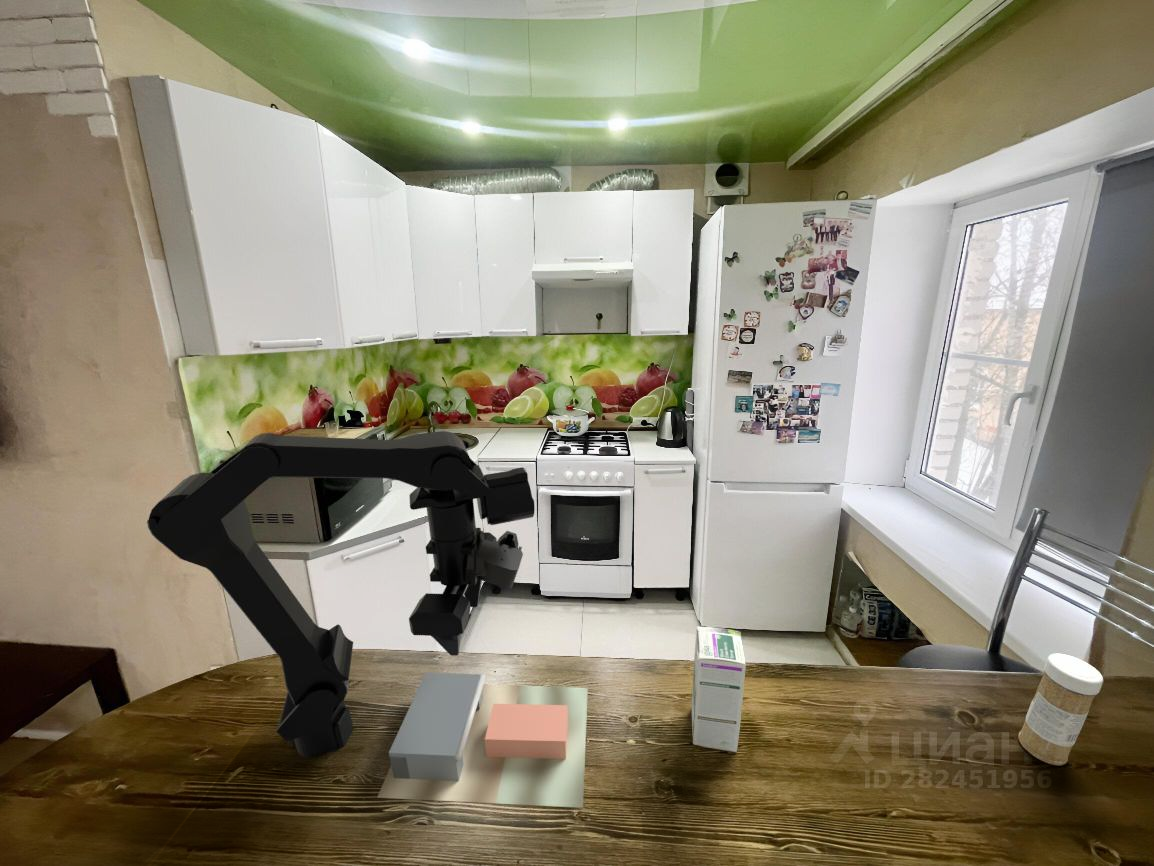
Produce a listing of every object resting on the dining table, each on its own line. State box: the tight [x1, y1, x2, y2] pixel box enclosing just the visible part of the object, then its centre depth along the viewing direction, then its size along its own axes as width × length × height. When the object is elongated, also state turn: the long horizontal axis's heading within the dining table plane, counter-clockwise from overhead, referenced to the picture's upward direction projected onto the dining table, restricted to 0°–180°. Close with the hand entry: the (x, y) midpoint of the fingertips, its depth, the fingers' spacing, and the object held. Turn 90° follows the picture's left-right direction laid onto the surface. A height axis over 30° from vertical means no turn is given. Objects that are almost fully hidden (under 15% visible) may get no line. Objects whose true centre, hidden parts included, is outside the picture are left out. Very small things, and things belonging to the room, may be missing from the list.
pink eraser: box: [485, 704, 568, 759], centre depth 59 cm, size 10×5×3 cm, turn 88°
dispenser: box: [388, 672, 487, 781], centre depth 59 cm, size 9×12×4 cm
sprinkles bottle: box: [1017, 653, 1104, 766], centre depth 55 cm, size 5×5×14 cm
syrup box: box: [691, 625, 747, 753], centre depth 59 cm, size 6×6×14 cm
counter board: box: [377, 683, 589, 809], centre depth 60 cm, size 24×16×1 cm, turn 87°
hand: (465, 628), depth 63 cm, fingers open, 9 cm apart
